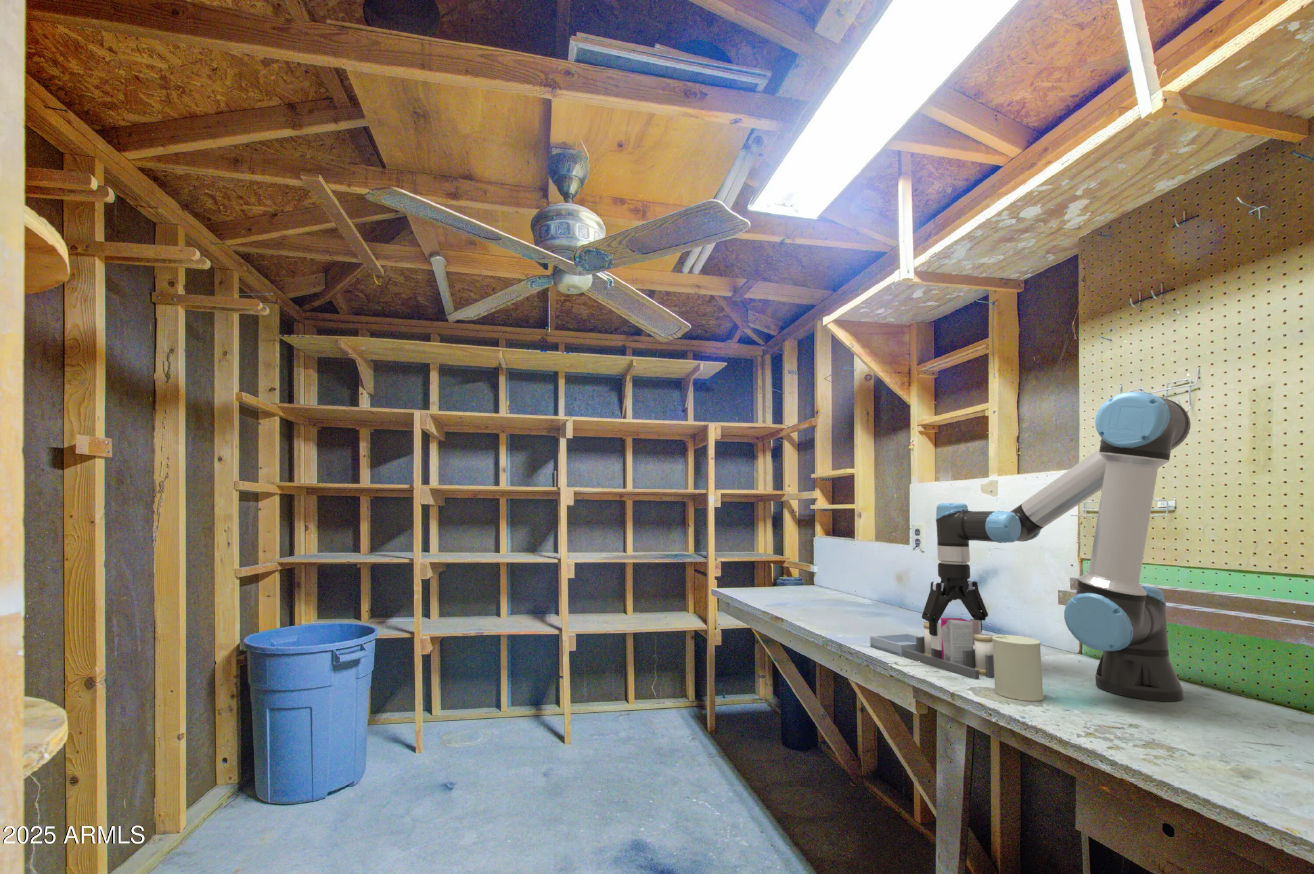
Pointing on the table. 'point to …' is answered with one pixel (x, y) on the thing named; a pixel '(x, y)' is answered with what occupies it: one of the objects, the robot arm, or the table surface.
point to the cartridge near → (982, 651)
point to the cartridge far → (927, 639)
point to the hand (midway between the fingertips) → (956, 647)
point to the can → (1017, 667)
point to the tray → (894, 643)
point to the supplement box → (956, 638)
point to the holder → (937, 661)
